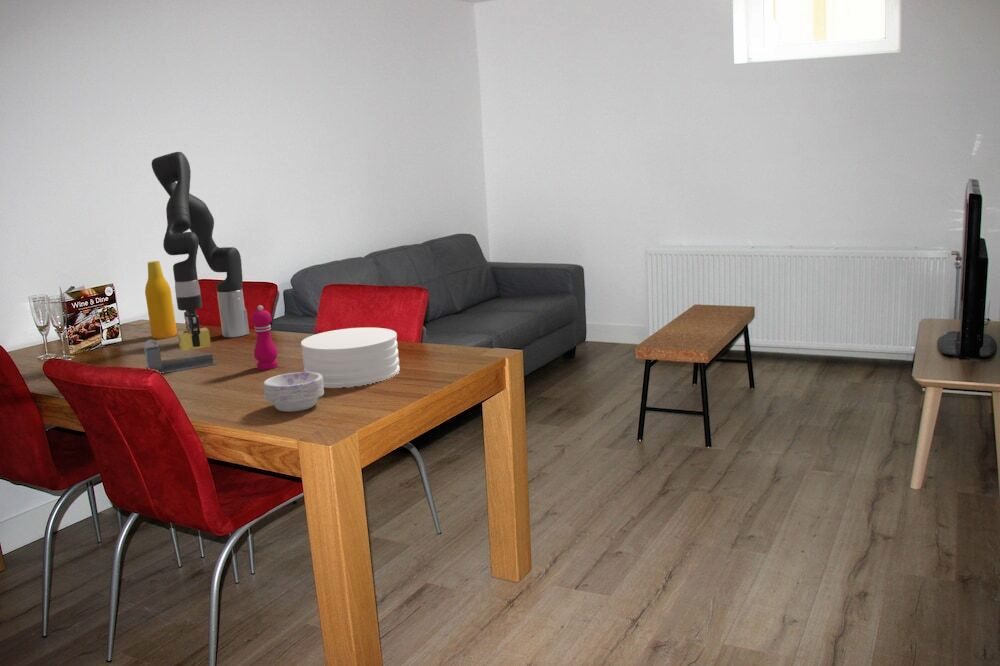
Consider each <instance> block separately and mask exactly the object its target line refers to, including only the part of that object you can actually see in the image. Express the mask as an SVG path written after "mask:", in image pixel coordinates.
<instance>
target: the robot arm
mask: <svg viewBox="0 0 1000 666" xmlns="http://www.w3.org/2000/svg"><path fill="white" fill-rule="evenodd" d="M151 168H152V171H153V173H154V176H155V177H156V179H157V180H158V182H159V183H160V185H161V186H162V187H163V189H164V191H165V192H166V193H167V195H168V196H169V199H168V201H167V203H166V208H165V212H166V213H165V215H166V223H167V224H166V225H167V226H166V231H165V234H164V238H163V243H162V244H163V245H162V246H163V250H164V251H165V253H166V254H168V255H170V256H181V255H188V257H187V259H185V260H183V261H178V262H176V263H174V264H173V266H172V271H173V278H174V290H175V291H174V292H175V299H176V305H177V309H178V311H184V312H183V317H184V320H185V327H186V330H190V331H191V336H192V343H193V347H199V346H200V339H199V334H200V320H199V319H200V318H199V314H198V313H197V311H196V310H199V309H201V308H203V302H202V295H201V294H202V293H201V288H200V284H199V278H198V270H197V255H198V250H199V248H200V251H201V252H202V255H203V257H204V259H205V261H206V263H207V265H208V267H209V269H210V270H211V271H213V272H215V273H226V278H224V280H222V281H220V282H217V284H215V288H216V294H217V295H216V296H217V303H218V309H219V317H220V318H219V319H220V325H221V332H222V333H221V334H222V337H224V338H238V337H242V336H245V335H250V328H249V319H248V311H247V309H246V307H245V300H244V299H245V298H244V292H243V268H242V264H243V263H242V259H241V258H242V257H241V254H240V252H239V250H238V249H237V248H236V247H232V246H231V247H230V246H229V247H228V246H226V247H225V246H224V247H219V246H217V244H216V242H215V241H214V238H213V232H214V227H215V220H214V216H213V214H212V212H211V211H210V209H209V207H208V206H207V204H206V203H205V202H204V201H203V200H202V199H200V198H198V197H197V196H195V195H194V194H192V193H190V188H191V175H192V174H191V165H190V163H189V159H188V158H187V156H186V155H185V153H183V152H181V151H176V152H171V153H168V154H165V155H161V156H157V157H155V158H153V159H152V160H151ZM189 230H190V231H189ZM193 329H197V331H193Z"/></svg>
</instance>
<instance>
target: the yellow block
mask: <svg viewBox="0 0 1000 666" xmlns="http://www.w3.org/2000/svg"><path fill="white" fill-rule="evenodd" d="M199 328H200V327H199ZM193 331H197V329H193ZM210 334H211V333H210V330H209V328H207V327H201V328H200V334H199V339H200V346H199V347H193V343H192V336H191V331H190V330H187V329H186V330H179V331H178V330H177V337H178V345H179V349H181V352H183V351H190V350H191V351H192V350H197V349H203V348H209V347H212V343H211V335H210Z"/></svg>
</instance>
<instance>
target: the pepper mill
mask: <svg viewBox="0 0 1000 666" xmlns="http://www.w3.org/2000/svg"><path fill="white" fill-rule="evenodd" d="M272 318H273V317H272V315H271V313H270V312H269V311H267V310H265V309H264V306H263V305H260V304H259V305H258V306H257V310H256V311H254V312H253V313H252V315H251V323H252V324H253V325H254V327H253V328H254V331H255V332H256V344H255V346H254V351H253V357H254V359H255V360H256V361H257V363H256V368H257V370H260V371H265V370H274V369H276V368H277V367H278V366H279V365H278V360H277V358H278V355H279V353H278V349H277V346H276V345H275V343H274V341H273V339H272V336H271V330H272V325H271V322H272Z"/></svg>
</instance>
